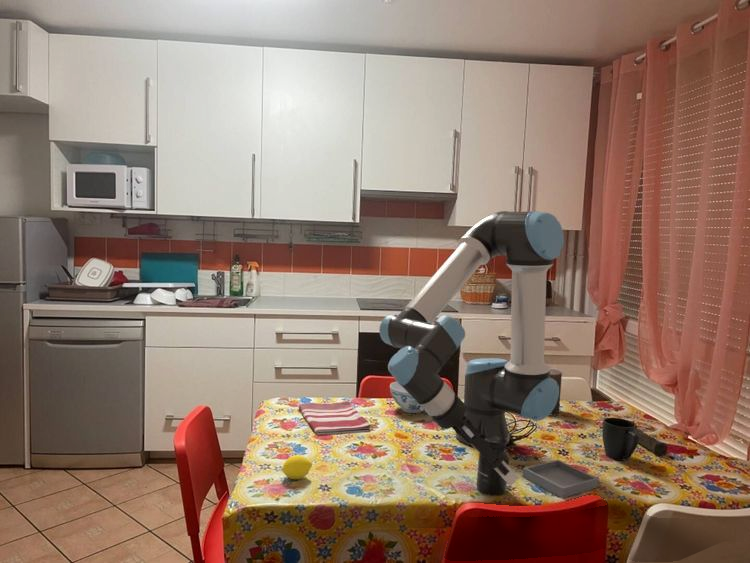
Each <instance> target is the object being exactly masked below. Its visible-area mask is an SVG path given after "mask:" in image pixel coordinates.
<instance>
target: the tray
mask: <svg viewBox="0 0 750 563" xmlns="http://www.w3.org/2000/svg"><path fill="white" fill-rule="evenodd" d="M521 476H522V477H523V478H524V479H526V480H527V481H530V482H532V483H534V484H535V485H537V486H539V487H540V488H543V489H544V490H547V491H549V492H550V493H552V494H554V495H555V496H558V497H559V498H567V497H569V496H570V497H571V496H574V495H576V494H580V493H584V492H587V491H591V490H594V489H593V488H595V489H597V488H596V487H599V477H595V476H593V475H591V474H590V473H587V472H585V471H582V470H580V469H579V468H577V467H574V466H572V465H570V464H569V463H566V462H564V461H562V460H560V459H554V460H551V461H547V462H542V463H538V464H533V465H530V466H525V467H523V468H522V475H521Z"/></svg>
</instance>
